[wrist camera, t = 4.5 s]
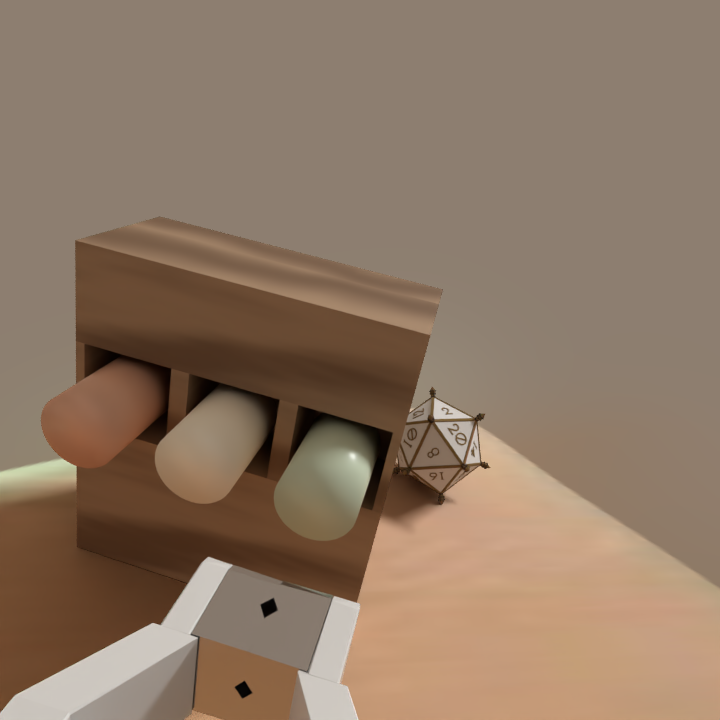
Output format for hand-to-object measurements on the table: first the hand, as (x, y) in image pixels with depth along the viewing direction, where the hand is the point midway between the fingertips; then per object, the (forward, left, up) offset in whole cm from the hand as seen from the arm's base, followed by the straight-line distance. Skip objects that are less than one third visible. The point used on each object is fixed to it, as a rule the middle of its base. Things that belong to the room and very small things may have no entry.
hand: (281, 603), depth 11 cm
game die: (+4, +35, -21) cm, 41 cm away
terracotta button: (-14, +16, -10) cm, 24 cm away
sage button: (-2, +16, -10) cm, 19 cm away
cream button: (-8, +16, -10) cm, 21 cm away
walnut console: (-8, +21, -20) cm, 30 cm away
